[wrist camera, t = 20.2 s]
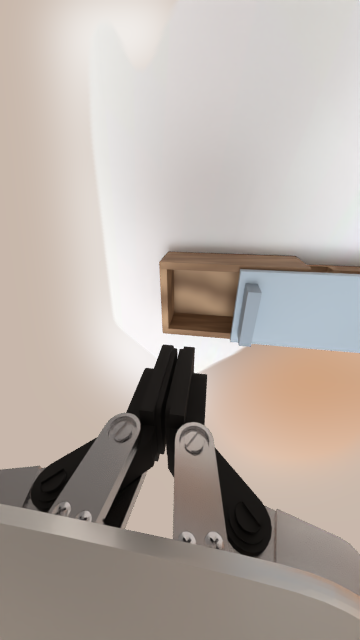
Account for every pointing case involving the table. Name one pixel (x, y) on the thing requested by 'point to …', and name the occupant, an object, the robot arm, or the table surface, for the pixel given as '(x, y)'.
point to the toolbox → (215, 288)
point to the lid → (297, 310)
